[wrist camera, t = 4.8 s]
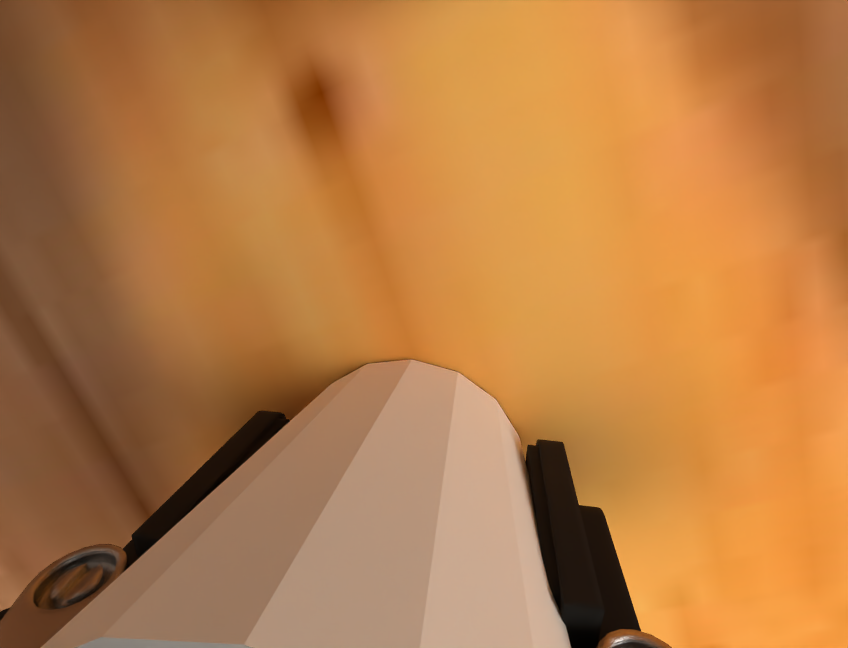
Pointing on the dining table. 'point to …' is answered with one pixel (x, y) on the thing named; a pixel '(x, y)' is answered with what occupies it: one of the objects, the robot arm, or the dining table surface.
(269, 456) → the shot glass
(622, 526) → the dining table surface
